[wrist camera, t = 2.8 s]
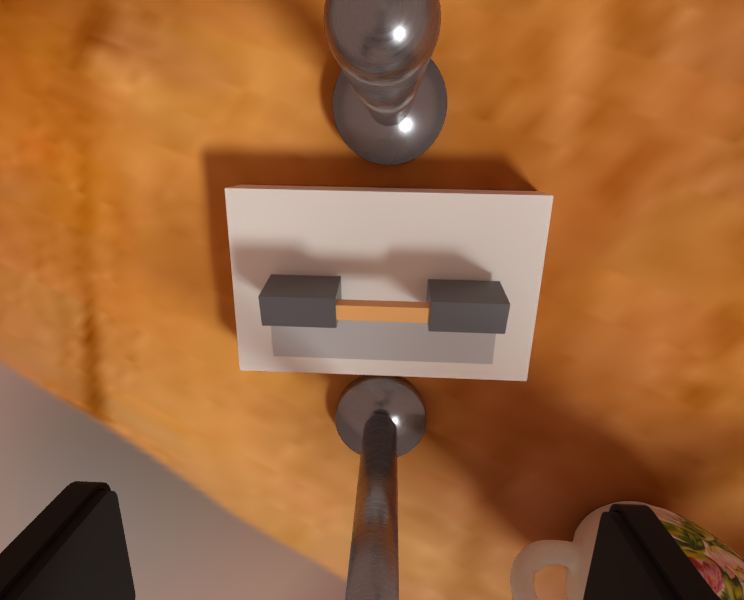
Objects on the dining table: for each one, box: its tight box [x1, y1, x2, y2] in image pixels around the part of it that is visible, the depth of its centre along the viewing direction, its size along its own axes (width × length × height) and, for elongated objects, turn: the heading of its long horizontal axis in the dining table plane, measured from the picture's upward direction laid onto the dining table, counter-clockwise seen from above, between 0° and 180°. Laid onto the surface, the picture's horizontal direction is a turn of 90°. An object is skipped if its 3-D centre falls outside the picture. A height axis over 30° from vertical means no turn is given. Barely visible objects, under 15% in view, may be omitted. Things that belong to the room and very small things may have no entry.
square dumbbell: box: [258, 274, 510, 334], centre depth 22 cm, size 2×12×2 cm, turn 89°
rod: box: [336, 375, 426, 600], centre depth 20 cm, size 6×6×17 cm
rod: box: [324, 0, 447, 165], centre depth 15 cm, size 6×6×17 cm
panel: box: [225, 184, 553, 381], centre depth 24 cm, size 10×16×3 cm, turn 89°
